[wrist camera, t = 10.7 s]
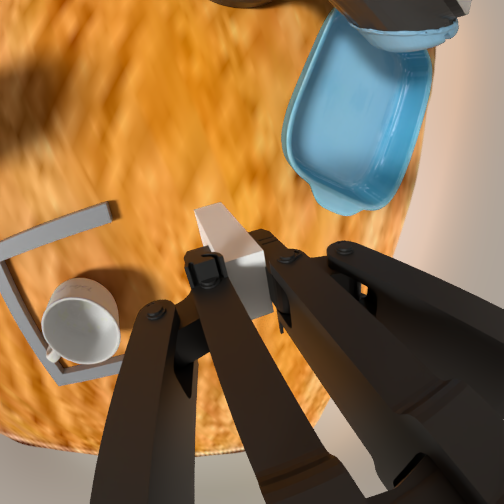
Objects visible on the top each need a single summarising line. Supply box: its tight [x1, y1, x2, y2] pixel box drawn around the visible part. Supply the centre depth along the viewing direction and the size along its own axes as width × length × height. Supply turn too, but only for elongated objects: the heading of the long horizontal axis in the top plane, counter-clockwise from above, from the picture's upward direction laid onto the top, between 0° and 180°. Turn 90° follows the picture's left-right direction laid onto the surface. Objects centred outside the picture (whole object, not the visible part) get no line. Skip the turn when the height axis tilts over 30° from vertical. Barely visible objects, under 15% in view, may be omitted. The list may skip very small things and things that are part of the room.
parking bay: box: [0, 201, 124, 386], centre depth 36 cm, size 21×26×2 cm
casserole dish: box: [281, 7, 432, 216], centre depth 36 cm, size 37×22×7 cm, turn 158°
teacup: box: [41, 278, 121, 364], centre depth 33 cm, size 14×11×8 cm
